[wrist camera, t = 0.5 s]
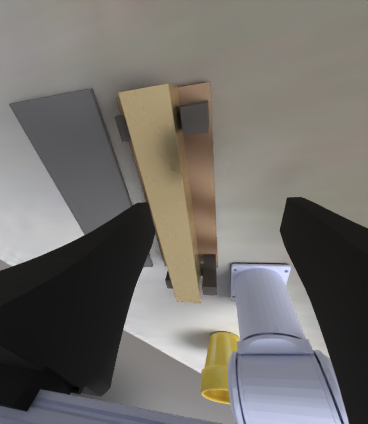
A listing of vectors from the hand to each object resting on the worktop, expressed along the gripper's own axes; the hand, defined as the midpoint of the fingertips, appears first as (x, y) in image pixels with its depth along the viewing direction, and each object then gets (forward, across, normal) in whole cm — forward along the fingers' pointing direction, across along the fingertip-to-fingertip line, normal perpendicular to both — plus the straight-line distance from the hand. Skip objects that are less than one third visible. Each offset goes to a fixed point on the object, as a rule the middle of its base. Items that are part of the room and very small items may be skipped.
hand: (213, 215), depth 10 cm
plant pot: (+11, -2, +42) cm, 43 cm away
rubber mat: (+10, +15, +5) cm, 19 cm away
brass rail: (+7, +4, +5) cm, 9 cm away
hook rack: (+10, +4, +5) cm, 12 cm away
